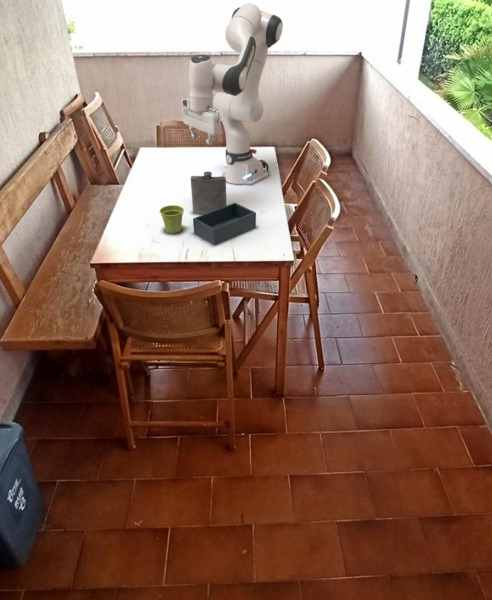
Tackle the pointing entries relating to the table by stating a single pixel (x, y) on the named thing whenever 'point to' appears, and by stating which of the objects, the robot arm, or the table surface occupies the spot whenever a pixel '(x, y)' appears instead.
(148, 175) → the table surface
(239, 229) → the tote
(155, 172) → the table surface
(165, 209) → the plant pot
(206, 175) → the flask
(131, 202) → the table surface
